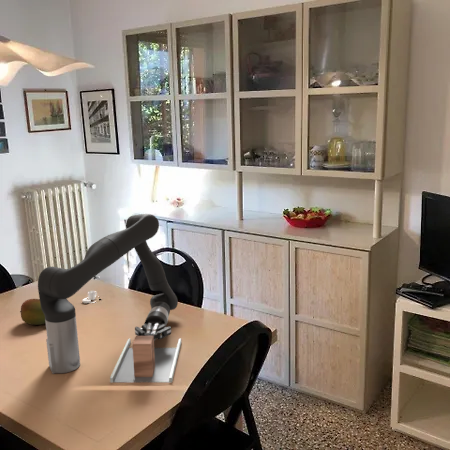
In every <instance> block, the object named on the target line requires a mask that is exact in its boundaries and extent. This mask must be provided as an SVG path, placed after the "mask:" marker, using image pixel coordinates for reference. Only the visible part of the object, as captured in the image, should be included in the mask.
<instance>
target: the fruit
mask: <svg viewBox="0 0 450 450" xmlns="http://www.w3.org/2000/svg"><path fill="white" fill-rule="evenodd" d="M19 313H20V316H21V317H20V318H21V320H22V321H23V322H24V323H25V324H28V325H34V326H35V325H36V326H37V325H38V326H39V325H44V324H46V322H45V315H44V313H43V311H42V309H41V304H40V298H29V299H27V300H25V301H23V302H22V303H21V306H20V311H19Z"/></svg>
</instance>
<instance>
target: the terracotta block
mask: <svg viewBox="0 0 450 450" xmlns="http://www.w3.org/2000/svg"><path fill="white" fill-rule="evenodd" d="M131 344H132V348H133V362H134V377H153V373H154V370H155V355H154V348H155V340H154V336H137V335H135V337H134V339H133V342H132V343H131Z"/></svg>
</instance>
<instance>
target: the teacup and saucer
mask: <svg viewBox="0 0 450 450" xmlns="http://www.w3.org/2000/svg"><path fill="white" fill-rule="evenodd" d="M96 296H98V292H97V291H96V290H89V291H87V297H85V298H83V299H81V302H82V303H83V304H94V303H95V302H96ZM87 298H88V299H87ZM91 300H93V301H91Z"/></svg>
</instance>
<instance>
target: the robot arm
mask: <svg viewBox="0 0 450 450" xmlns="http://www.w3.org/2000/svg"><path fill="white" fill-rule="evenodd" d="M159 229H160V222H159V220H158V218H157V216H155V215H154V214H151V213H141V214H134V215H130V216H128V218H127V219H126V221H125V228H124V229H122V230H120V231H116V232H113V233H110V234H107V235H106V236H104V237H102V238H100V239H99V240H97V241H96V242H94V243H92V245H90V246H89V247H88V248H87V251H86V253H85V255H84V257H83V258H84V259H82V260H81V261H80V262H78V263H77V264H75V265H74V266H72V267H70V268H62V267H57V266H48V267H45V268H44V269H42V271H41V272H40V273H39V275H38V279H37V290H38V291H37V292H38V299H40V304H41V309H42V311H43V313H44V315H45V322H46V323H45V328H46V329H45V331H46V348H47V359H48V365H49V368H50V371H51V374H66V373H70V372H73V371H75V370H77V369H78V368H79V367H80V366H81V357H80V347H79V337H78V335H79V334H78V329H77V328H78V326H77V314H76V307H75V305H74V304H72V303H71V302H70V301H69V298H71V297H73V296H74V295H75V294H77V292H79V290H81V289H82V288H83V287H84V286H85V285H86V284H88V282H90V281H92V279H93V278H94V277H96V276H97V275H98V274H100V273H102V272H103V271H104V270H106V269H107V268H108V267H110V266H112V265H113V264H115V263H116V262H117V261H119V260H120V259H121V258H123V257H124V256H125V255H127V254H128V253H129V252H131V251H132V250H133V249H134V250H135V252H136V254H137V257H138V258H139V260H140V262H141V266H143V267H142V268H143V270H144V273H145V276H146V280H147V283H148V286H149V289H150V290H151V291H155V292H162V293H159V294H156V295H153V296H152V297H150V301H149V306H150V308H151V309H150V310H149V312H148V314H147V316H146V318H145V319H144V320H145V321H144V323H143V324H142V325H141V327H139V326H135V327H134V333H135V336H154V341H156V340H158V341H160V340H162V339H164V338H167V337H168V336H170V335H171V334H172V328H171V326H167V324H168V323H169V316H170V314H171V313H170V312H171V311H174V310H176V308H177V307H178V303H179V302H178V296H177V295H176V293H175V292H174V291H173V289H172V288H171V286H170V285H169V283H168V280H167V277H166V273H165V269H164V267H163V265H162V263H161V262H160V260H159V259H158V258H157V256H156V255H155V254H154V253H153V251H152V250H151V248H150V246H149V244H148V243H147V241H148V240H150V239H152V238H153V237H155V236H156V234H157V233H158V232H159Z"/></svg>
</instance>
